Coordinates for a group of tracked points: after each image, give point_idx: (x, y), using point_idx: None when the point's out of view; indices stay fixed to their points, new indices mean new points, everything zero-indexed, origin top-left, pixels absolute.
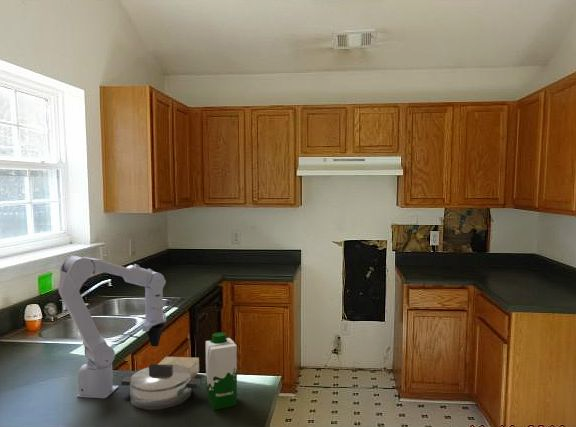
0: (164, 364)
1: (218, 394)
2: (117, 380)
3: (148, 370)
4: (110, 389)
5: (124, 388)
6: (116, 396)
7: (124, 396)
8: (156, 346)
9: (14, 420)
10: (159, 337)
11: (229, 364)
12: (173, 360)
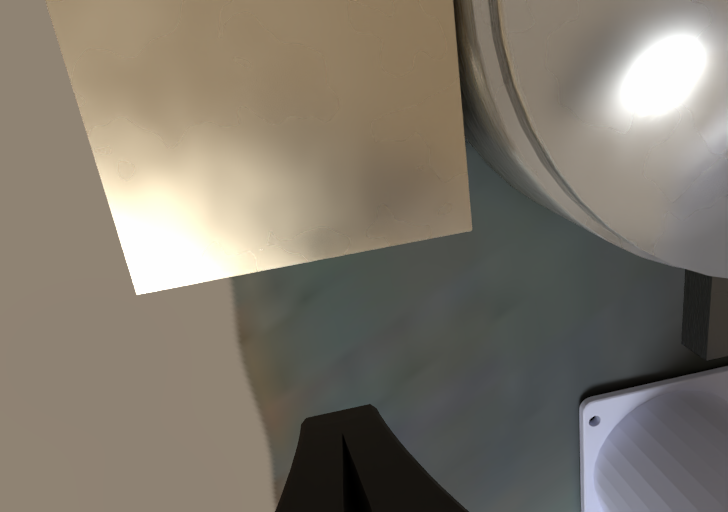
0: (525, 88)
1: None
2: (465, 482)
3: (721, 181)
4: (692, 399)
5: (584, 349)
6: None
7: None
8: (376, 410)
9: None
10: (333, 505)
11: None
12: (225, 117)
